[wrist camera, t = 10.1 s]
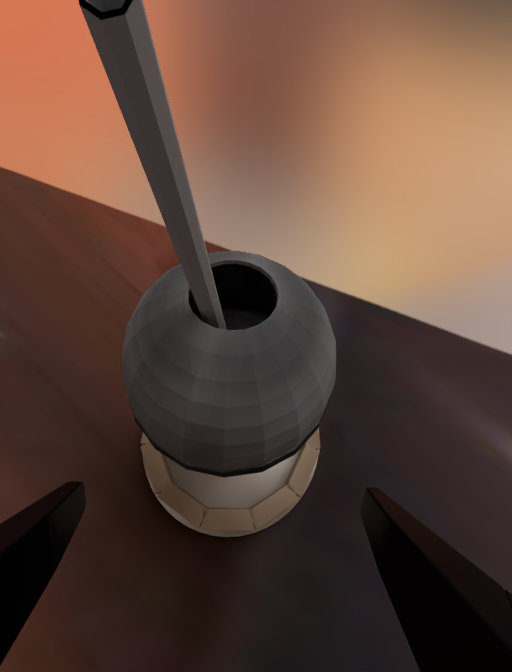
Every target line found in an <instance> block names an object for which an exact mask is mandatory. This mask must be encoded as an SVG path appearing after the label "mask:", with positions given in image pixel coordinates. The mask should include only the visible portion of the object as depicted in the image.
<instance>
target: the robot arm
mask: <svg viewBox="0 0 512 672" xmlns="http://www.w3.org/2000/svg"><path fill="white" fill-rule="evenodd" d="M85 507H86V498H85V488H84V484H83V482H67V483H65V484H64V485H62V486H60V487H59V488H57V489H56V490H54V491H52V492H51V493H49V494H48V495H46V496H44V497H43V498H41V499H40V500H38V501H36V502H35V503H33V504H32V505H30V506H28V507H27V508H25V509H24V510H22V511H20V512H19V513H17V514H15V515H14V516H12V517H11V518H9V519H7V520H6V521H4V522H3V523H1V524H0V665H1V663H2V662H3V660H4V658H5V657H6V655H7V653H8V652H9V650H10V648H11V646H12V645H13V643H14V641H15V640H16V638H17V636H18V634H19V633H20V631H21V629H22V628H23V626H24V624H25V622H26V621H27V619H28V617H29V616H30V614H31V612H32V610H33V609H34V607H35V605H36V604H37V602H38V600H39V598H40V597H41V595H42V593H43V592H44V590H45V588H46V586H47V585H48V583H49V581H50V580H51V578H52V576H53V574H54V572H55V571H56V569H57V567H58V565H59V563H60V561H61V559H62V557H63V554H64V552H65V550H66V548H67V546H68V544H69V542H70V540H71V538H72V536H73V534H74V532H75V530H76V528H77V525H78V523H79V521H80V519H81V517H82V515H83V513H84V510H85ZM360 513H361V517H362V520H363V524H364V527H365V530H366V533H367V536H368V539H369V542H370V545H371V549H372V552H373V555H374V558H375V561H376V564H377V567H378V570H379V573H380V575H381V578H382V580H383V583H384V585H385V587H386V590H387V592H388V595H389V597H390V599H391V602H392V604H393V607H394V609H395V612H396V614H397V616H398V619H399V621H400V624H401V626H402V628H403V631H404V633H405V636H406V638H407V640H408V643H409V645H410V648H411V650H412V653H413V655H414V657H415V660H416V662H417V665H418V667H419V669H420V672H512V594H511V593H510V592H509V591H507V590H504V588H503V587H502V586H501V585H500V584H498V583H497V582H496V581H494V580H493V579H492V578H491V577H489V576H488V575H487V574H486V573H484V572H483V571H482V570H481V569H479V568H478V567H477V566H476V565H474V564H473V563H472V562H470V561H469V560H468V559H467V558H465V557H464V556H463V555H462V554H460V553H459V552H458V551H457V550H455V549H454V548H453V547H451V546H450V545H449V544H448V543H446V542H445V541H444V540H443V539H441V538H440V537H439V536H438V535H436V534H435V533H434V532H433V531H431V530H430V529H429V528H427V527H426V526H425V525H424V524H422V523H421V522H420V521H419V520H417V519H416V518H415V517H414V516H412V515H411V514H410V513H409V512H407V511H406V510H405V509H403V508H402V507H401V506H400V505H398V504H397V503H396V502H395V501H393V500H392V499H391V498H390V497H388V496H387V495H386V494H385V493H383V492H382V491H381V490H379V489H378V488H365V489H364V491H363V496H362V501H361V506H360Z"/></svg>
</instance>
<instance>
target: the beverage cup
mask: <svg viewBox="0 0 512 672" xmlns="http://www.w3.org/2000/svg"><path fill="white" fill-rule="evenodd" d="M79 4H80V7H81V9H82V12H83V15H84V17H85V19H86V22H87V25H88V27H89V30H90V32H91V35H92V37H93V40H94V43H95V45H96V48H97V50H98V53H99V56H100V58H101V61H102V63H103V66H104V68H105V71H106V74H107V76H108V79H109V81H110V84H111V86H112V89H113V91H114V94H115V97H116V99H117V102H118V104H119V107H120V109H121V112H122V115H123V117H124V120H125V122H126V125H127V127H128V130H129V132H130V135H131V138H132V140H133V143H134V145H135V148H136V150H137V153H138V156H139V158H140V161H141V163H142V166H143V168H144V171H145V173H146V176H147V179H148V181H149V183H150V186H151V188H152V191H153V194H154V196H155V199H156V202H157V204H158V206H159V209H160V212H161V214H162V217H163V220H164V222H165V225H166V227H167V230H168V232H169V235H170V238H171V240H172V243H173V245H174V248H175V250H176V253H177V255H178V258H179V261H180V263H181V264H179V265H177V266H175V267H173V268H172V269H170V270H168V271H167V272H166V273H165V274H164V275H163V276H162V277H161V278H159V279H158V280H157V281H156V282H155V283H154V284H153V285H152V286H151V287H150V288H149V289H148V290H147V291H146V292H145V293H144V294H143V296H142V298H141V300H140V302H139V303H138V305H137V307H136V309H135V311H134V312H133V314H132V316H131V318H130V320H129V322H128V325H127V327H126V333H125V339H124V346H123V353H122V362H121V369H122V374H123V378H124V382H125V386H126V391H127V395H128V399H129V403H130V406H131V409H132V410H133V414H134V418H135V421H136V423H137V424H138V425H139V427H140V428H141V430H142V431H143V433H144V434H145V435H146V437H147V438H148V440H149V441H150V442H151V444H152V445H153V447H154V448H155V449H156V450H157V451H159V452H160V453H162V454H163V455H165V456H166V457H168V458H169V459H171V460H172V461H174V462H176V463H177V464H179V465H180V466H182V467H183V468H185V469H186V470H191V471H195V472H200V473H205V474H209V475H214V476H218V477H223V478H226V477H232V476H239V475H246V474H253V473H260V472H264V471H266V470H267V469H269V468H271V467H273V466H275V465H277V464H279V463H280V462H282V461H284V460H286V459H288V458H290V457H292V456H293V455H295V454H296V453H297V452H298V451H299V450H300V448H301V447H302V446H303V445H304V444H305V443H306V442H307V441H308V439H309V438H310V437H311V436H312V435H313V434H314V433H315V432H316V430H317V429H318V428H319V425H320V422H321V420H322V417H323V415H324V412H325V410H326V407H327V405H328V402H329V400H330V395H331V392H332V389H333V387H334V383H335V379H336V340H335V337H334V334H333V331H332V328H331V325H330V322H329V319H328V316H327V314H326V311H325V308H324V306H323V305H322V304H321V302H320V301H319V300H318V298H317V297H316V295H315V294H314V293H313V291H312V290H311V289H310V287H309V286H308V285H307V284H306V283H305V281H304V280H302V279H301V278H300V277H299V276H297V275H296V274H295V273H293V272H292V271H291V270H289V269H288V268H287V267H285V266H284V265H281V264H279V263H277V262H274V261H272V260H270V259H268V258H265V257H263V256H261V255H256V254H251V253H246V252H241V251H222V252H213V253H209V254H207V251H206V247H205V243H204V239H203V236H202V231H201V227H200V224H199V220H198V215H197V212H196V208H195V204H194V200H193V196H192V192H191V188H190V184H189V180H188V176H187V172H186V168H185V165H184V161H183V157H182V153H181V149H180V145H179V141H178V137H177V133H176V129H175V125H174V121H173V118H172V113H171V109H170V106H169V102H168V98H167V94H166V90H165V86H164V82H163V78H162V74H161V70H160V67H159V62H158V59H157V55H156V51H155V47H154V43H153V39H152V35H151V31H150V28H149V23H148V19H147V15H146V11H145V8H144V4H143V0H79Z"/></svg>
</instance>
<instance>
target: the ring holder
mask: <svg viewBox="0 0 512 672" xmlns="http://www.w3.org/2000/svg"><path fill="white" fill-rule="evenodd" d="M141 444H142V446H141V450H142V454H143V463H144V468H145V472H146V476H147V478H148V481H149V484H150V486H151V488H152V490H153V492H154V494H155V495H156V497H157V499H158V500H159V502H160V503H161V504H162V505H163V507H164V508H165V509H166V510H167V511H168V512H169V513H170V514H171V515H172V516H173V517H174V518H175V519H177V520H178V521H180V522H181V523H183V524H184V525H186V526H187V527H189V528H191V529H194V530H196V531H198V532H201V533H204V534H208V535H212V536H220V537H235V536H243V535H248V534H252V533H255V532H258V531H260V530H262V529H265V528H267V527H269V526H271V525H272V524H274V523H275V522H277V521H279V520H280V519H281V518H282V517H284V516H285V515H286V514H287V513H288V512H290V510H291V509H292V508H293V507H294V506H295V505H296V504H297V503H298V502H299V500H300V499H301V497H302V496H303V494H304V493H305V491H306V489H307V487H308V485H309V483H310V481H311V479H312V477H313V474H314V471H315V468H316V464H317V459H318V455H319V453H320V452H319V449H320V440H319V429H317V430H316V432H315V433H314V434H313V435H312V436H311V437H310V438H309V439H308V441H307V442H306V443H305V444H304V445H303V446H302V447H301V448H300V450H299V451H298V452H297V453H296V454H295V455H293V456H292V457H290V458H288V459H286V460H284V461H282V462H280V463H279V464H277V465H275V466H273V467H271V468H269V469H267V470H266V471H264V472H260V473H253V474H246V475H239V476H232V477H226V478H223V477H218V476H214V475H209V474H205V473H200V472H195V471H191V470H186V469H185V468H183V467H182V466H180V465H179V464H177V463H176V462H174V461H172V460H171V459H169V458H168V457H166V456H165V455H163V454H162V453H160V452H159V451H157V450H156V449H155V448H154V447H153V445H152V444H151V442H150V441H149V440H148V438H147V437H146V435H145V434H144V433H143V434H142V439H141Z"/></svg>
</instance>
